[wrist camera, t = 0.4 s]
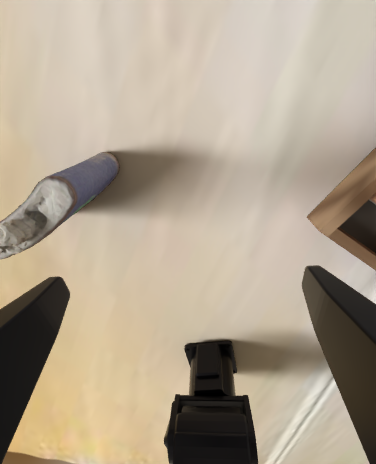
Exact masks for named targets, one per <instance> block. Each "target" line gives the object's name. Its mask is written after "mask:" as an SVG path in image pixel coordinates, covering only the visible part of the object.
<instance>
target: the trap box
mask: <svg viewBox="0 0 376 464" xmlns="http://www.w3.org/2000/svg"><path fill="white" fill-rule="evenodd" d="M375 193H376V148H375V149H374V150H373V151H372V152H371V153H370V154H369V155H368V156H367V157H366V158H365V159H364V160H363V161H362V162H361V163H360V164H359V165H358V166H357V167H356V168H355V169H354V170H353V171H352V172H351V173H350V174H349V175H348V176H347V177H346V178H345V179H344V180H343V181H342V182H341V183H340V184H339V185H338V186H337V187H336V188H335V189H334V190H333V191H332V192H331V193H330V194H329V195H328V196H327V197H326V198H325V199H324V200H323V201H322V202H321V203H320V204H319V205H318V206H317V207H316V208H315V209H314V210H313V211H312V212H311V213H310V214H309V215H308V216H307V218H308V219H309V220H310V221H311V222H312V224H313V225H314V226H315V227H316V228H317V229H318V230H319V231H320V232H321V233H323V234H324V235H326V236H327V237H328V238H330V239H331V240H333V241H334V242H336V243H337V244H338V245H340V246H341V247H343V248H344V249H346V250H347V251H349V252H350V253H351V254H353V255H354V256H356V257H357V258H359V259H360V260H361V261H363V262H364V263H366V264H367V265H369V266H370V267H372V268H373V269H374V270H376V204H375V203H374V202H373V201H371V200H370V198H371V197H372V196H373V195H374V194H375Z"/></svg>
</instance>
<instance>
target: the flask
mask: <svg viewBox="0 0 376 464" xmlns="http://www.w3.org/2000/svg"><path fill="white" fill-rule="evenodd" d="M119 168H120V167H119V162H118V160H117V159H116V158H115V156H113V155H112V154H111V153H107V152H102V153H99V154H97V155H96V156H93V157H91V158H89V159H87V160H85V161H83V162H81V163H79V164H77V165H74V166H72V167H69V168H67V169H65V170H62V171H60V172H57V173H54V174H53V175H50V176H47V177H45V178H44V179H43V180H41V181H40V182H38V184H37V185H36V186H35V188H34V190H33V191H32V193H31V194H30V196H29V197H28V198H27V200H26V201H25V202H24V203H23V204H22V205H20V206H19V207H18V208H17V209H16V210H15V211H14V212H13V213H11V214H10V215H9V216H8V217H7V218H5V219H4V220H2V221H0V259H4V258H8V257H10V256H12V255H15V254H17V253H20V252H22V251H24V250H26V249H28V248H30V247H32V246H34V245H35V244H37V243H38V242H40V241H41V240H43V239H44V238H45V237H47V236H48V235H49V234H51V233H52V232H53V231H54V230H55V229H56V228H57V227H58V226H60V225H61V224H62V223H63V222H65V221H66V220H67V219H68V218H70V217H71V216H72V215H73V214H75V213H76V212H77V211H79V210H80V209H81V208H82V207H84V206H85V205H86V204H88V203H89V202H90V201H92V200H93V199H94V198H95V197H96V196H97V195H98V194H100V193H101V192H102V191H103V190H104V189H105V188H106V187H107V186H108V185H109V184H110V183H111V181H112V180H114V178H115V177H116V175H117V174H118V172H119Z"/></svg>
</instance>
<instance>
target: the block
mask: <svg viewBox="0 0 376 464" xmlns="http://www.w3.org/2000/svg"><path fill="white" fill-rule="evenodd" d="M370 200H371V201H373V202H374V203H375V204H376V193H375V194H374V195H373V196H372V197H371V198H370Z"/></svg>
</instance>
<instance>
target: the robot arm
mask: <svg viewBox="0 0 376 464" xmlns="http://www.w3.org/2000/svg"><path fill="white" fill-rule="evenodd" d="M302 289H303V293H304V296H305V300H306V303H307V307H308V310H309V314H310V317H311V321H312V324H313V327H314V330H315V333H316V336H317V338H318V341H319V343H320V345H321V348H322V350H323V353H324V355H325V357H326V360H327V362H328V365H329V367H330V369H331V372H332V374H333V377H334V379H335V381H336V384H337V386H338V389H339V391H340V393H341V396H342V398H343V401H344V403H345V405H346V408H347V410H348V413H349V415H350V417H351V420H352V422H353V425H354V427H355V429H356V432H357V434H358V437H359V439H360V441H361V444H362V446H363V449H364V451H365V453H366V456H367V458H368V461H369V463H370V464H376V304H375V303H373V302H372V301H370V300H369V299H367V298H366V297H364V296H363V295H362V294H360V293H359V292H357V291H356V290H354V289H353V288H351V287H350V286H348V285H347V284H345V283H344V282H343V281H341V280H340V279H338V278H337V277H335V276H334V275H332V274H331V273H329V272H328V271H327V270H325V269H324V268H322V267H321V266H317V265H316V266H307V267H306V268H305V271H304V276H303V281H302ZM69 298H70V291H69V289H68V287H67V286H66V284H65V282H64V280H63V278H61V277H49V278H48V279H46V280H44V281H43V282H41V283H40V284H38V285H37V286H35V287H34V288H32V289H31V290H29V291H28V292H26V293H25V294H23V295H22V296H20V297H19V298H17V299H15V300H14V301H12V302H11V303H9V304H8V305H6V306H5V307H3V308H2V309H0V464H2V462H3V459H4V457H5V455H6V453H7V450H8V448H9V446H10V443H11V441H12V439H13V436H14V434H15V432H16V430H17V427H18V425H19V423H20V420H21V418H22V416H23V413H24V411H25V409H26V407H27V404H28V402H29V400H30V397H31V395H32V393H33V390H34V388H35V386H36V383H37V381H38V379H39V377H40V374H41V372H42V370H43V367H44V365H45V363H46V360H47V358H48V356H49V354H50V351H51V349H52V347H53V344H54V342H55V340H56V337H57V335H58V332H59V329H60V326H61V323H62V320H63V317H64V314H65V310H66V307H67V304H68V301H69ZM185 353H186V356H187V359H188V362H189V365H190V368H191V370H190V387H189V395H180V394H176V395H175V401H173V403H172V409H171V416H170V421H169V424H168V427H167V431H166V434H165V437H164V444H165V446H166V447H167V451H168V459H169V464H258V456H257V446H256V438H255V431H254V425H253V420H252V415H251V409H250V404H249V398H248V395H243V396H235V386H234V376H233V374H234V373H237V367H236V362H235V357H234V352H233V347H232V343H231V342H230V341H222V342H211V343H199V344H188V345H185Z"/></svg>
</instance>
